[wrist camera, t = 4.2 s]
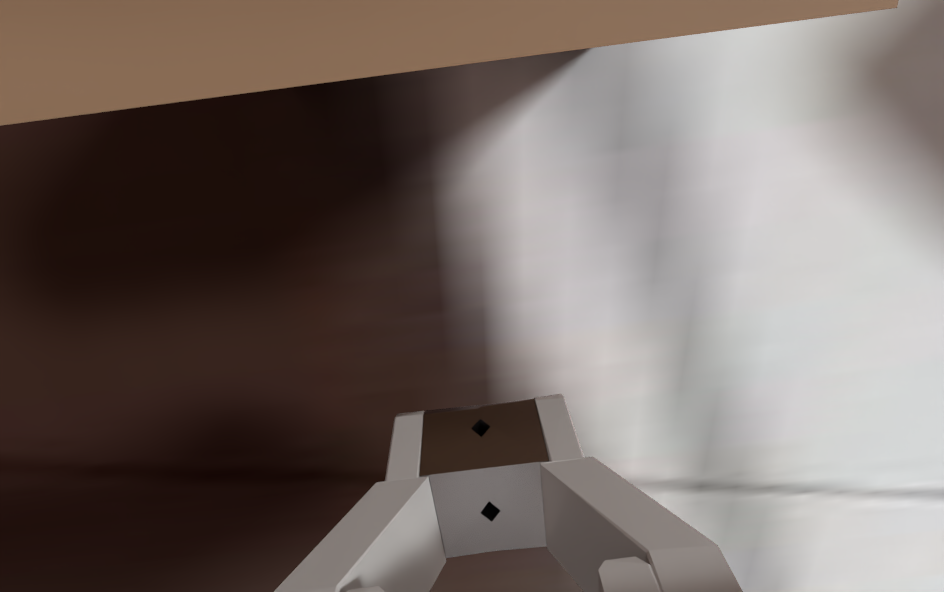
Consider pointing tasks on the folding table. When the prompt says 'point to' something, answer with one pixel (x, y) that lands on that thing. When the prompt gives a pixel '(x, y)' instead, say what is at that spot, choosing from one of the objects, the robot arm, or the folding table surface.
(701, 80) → the folding table surface
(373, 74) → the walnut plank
